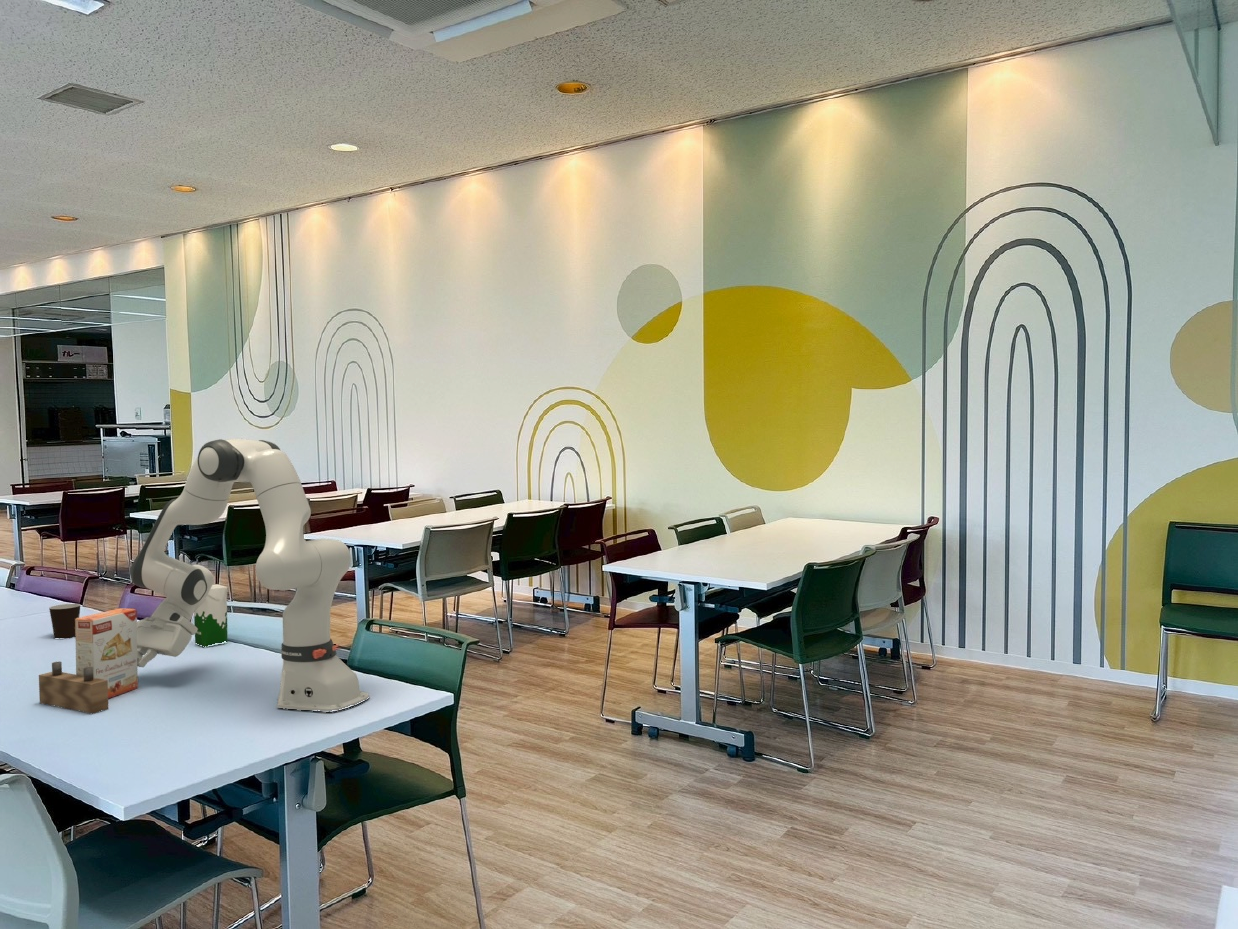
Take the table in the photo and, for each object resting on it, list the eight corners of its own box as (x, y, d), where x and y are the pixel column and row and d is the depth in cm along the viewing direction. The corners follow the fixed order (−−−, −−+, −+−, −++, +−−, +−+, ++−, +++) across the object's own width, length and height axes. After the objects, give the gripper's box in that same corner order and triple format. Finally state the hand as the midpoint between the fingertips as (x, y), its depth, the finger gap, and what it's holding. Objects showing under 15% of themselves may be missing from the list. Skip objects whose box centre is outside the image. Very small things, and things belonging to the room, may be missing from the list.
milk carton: (191, 644, 278) (189, 580, 277) (220, 639, 284) (218, 577, 283) (202, 649, 272) (200, 583, 271) (232, 643, 278) (230, 580, 277)
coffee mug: (70, 640, 285) (69, 609, 285) (44, 640, 285) (43, 609, 285) (92, 631, 297) (91, 601, 296) (67, 631, 297) (66, 602, 296)
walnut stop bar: (108, 709, 214) (107, 667, 213) (92, 714, 210) (90, 672, 210) (56, 698, 222) (54, 659, 222) (39, 703, 219) (38, 662, 218)
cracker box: (95, 704, 217) (92, 619, 216) (75, 702, 219) (72, 618, 218) (140, 688, 231) (137, 608, 230) (121, 686, 232) (118, 607, 231)
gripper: (135, 610, 242) (102, 654, 234) (187, 617, 233) (154, 663, 225) (151, 623, 246) (119, 667, 238) (202, 630, 237) (171, 676, 229)
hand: (136, 665), depth 231 cm, fingers closed
